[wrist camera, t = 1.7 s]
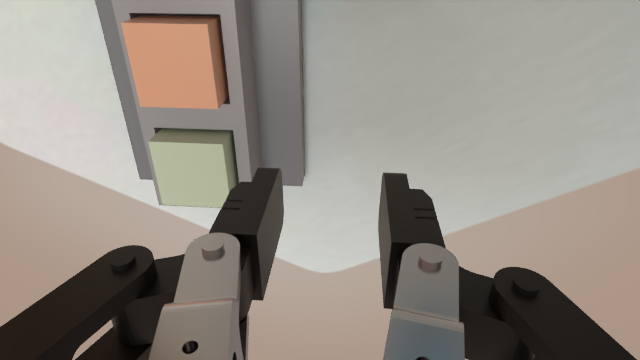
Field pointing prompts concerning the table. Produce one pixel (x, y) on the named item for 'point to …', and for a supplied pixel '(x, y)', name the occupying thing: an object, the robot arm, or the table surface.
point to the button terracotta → (177, 60)
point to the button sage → (194, 166)
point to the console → (243, 83)
